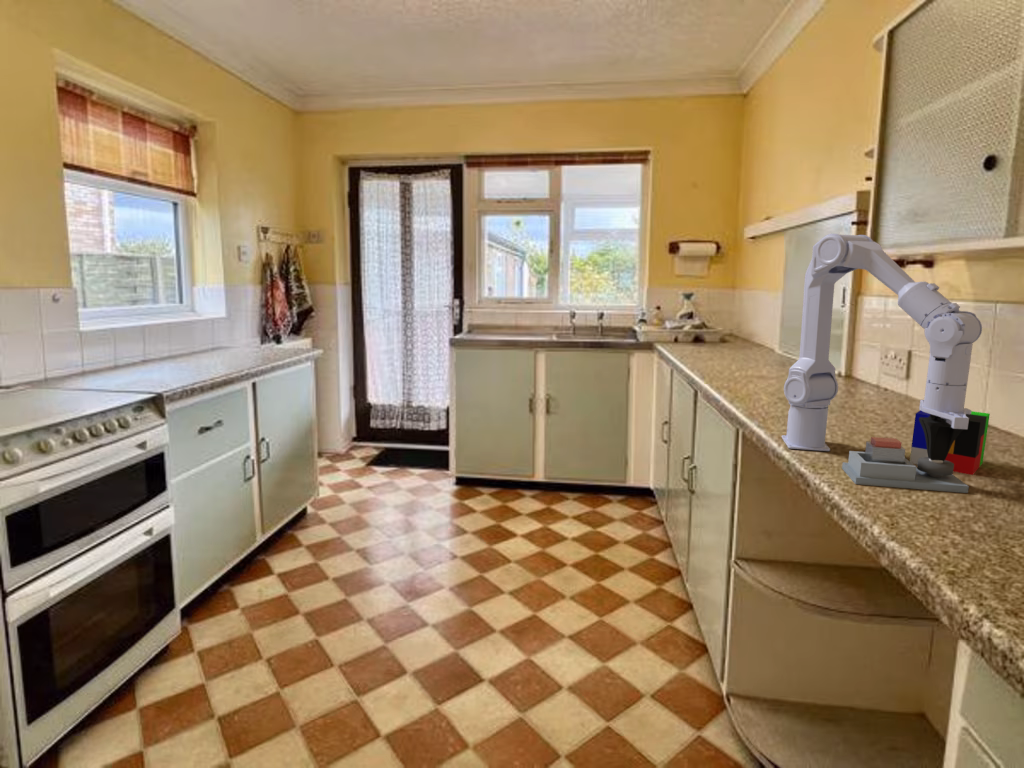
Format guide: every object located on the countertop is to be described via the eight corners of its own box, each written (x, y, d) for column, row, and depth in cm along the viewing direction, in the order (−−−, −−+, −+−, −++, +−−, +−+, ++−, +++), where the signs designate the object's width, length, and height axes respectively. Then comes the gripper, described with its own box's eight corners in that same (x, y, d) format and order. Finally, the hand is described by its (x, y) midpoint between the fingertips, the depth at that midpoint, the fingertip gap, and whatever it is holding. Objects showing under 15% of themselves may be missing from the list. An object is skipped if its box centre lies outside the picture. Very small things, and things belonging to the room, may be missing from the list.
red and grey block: (863, 467, 111) (867, 435, 110) (894, 469, 110) (898, 437, 109) (870, 474, 108) (873, 441, 106) (902, 476, 106) (906, 443, 105)
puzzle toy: (909, 463, 118) (915, 413, 116) (922, 452, 125) (928, 405, 123) (972, 475, 111) (980, 422, 109) (982, 463, 118) (989, 413, 116)
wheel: (912, 464, 110) (913, 453, 109) (945, 467, 108) (946, 455, 108) (923, 473, 105) (925, 462, 104) (958, 476, 103) (960, 464, 103)
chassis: (841, 468, 115) (843, 449, 114) (945, 476, 110) (947, 456, 110) (855, 484, 106) (857, 463, 105) (967, 493, 102) (970, 472, 101)
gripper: (995, 392, 96) (983, 474, 98) (954, 377, 110) (944, 449, 112) (943, 389, 98) (933, 470, 100) (910, 375, 111) (901, 446, 114)
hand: (936, 459), depth 106 cm, fingers closed, pressing on wheel
